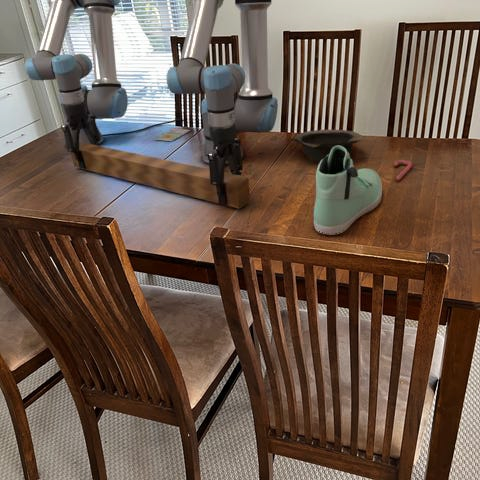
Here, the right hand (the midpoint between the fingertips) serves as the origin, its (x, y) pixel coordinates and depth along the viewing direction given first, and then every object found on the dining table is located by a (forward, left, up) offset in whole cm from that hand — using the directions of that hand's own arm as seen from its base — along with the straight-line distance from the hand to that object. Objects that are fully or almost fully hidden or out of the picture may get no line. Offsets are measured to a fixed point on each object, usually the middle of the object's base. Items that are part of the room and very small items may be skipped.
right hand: (229, 199), depth 146 cm
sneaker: (-2, +35, -2) cm, 35 cm away
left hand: (-20, -61, 0) cm, 64 cm away
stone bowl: (-42, +24, -2) cm, 49 cm away
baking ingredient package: (-58, -44, -2) cm, 73 cm away
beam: (-10, -30, -1) cm, 32 cm away
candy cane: (-30, +50, -2) cm, 58 cm away
